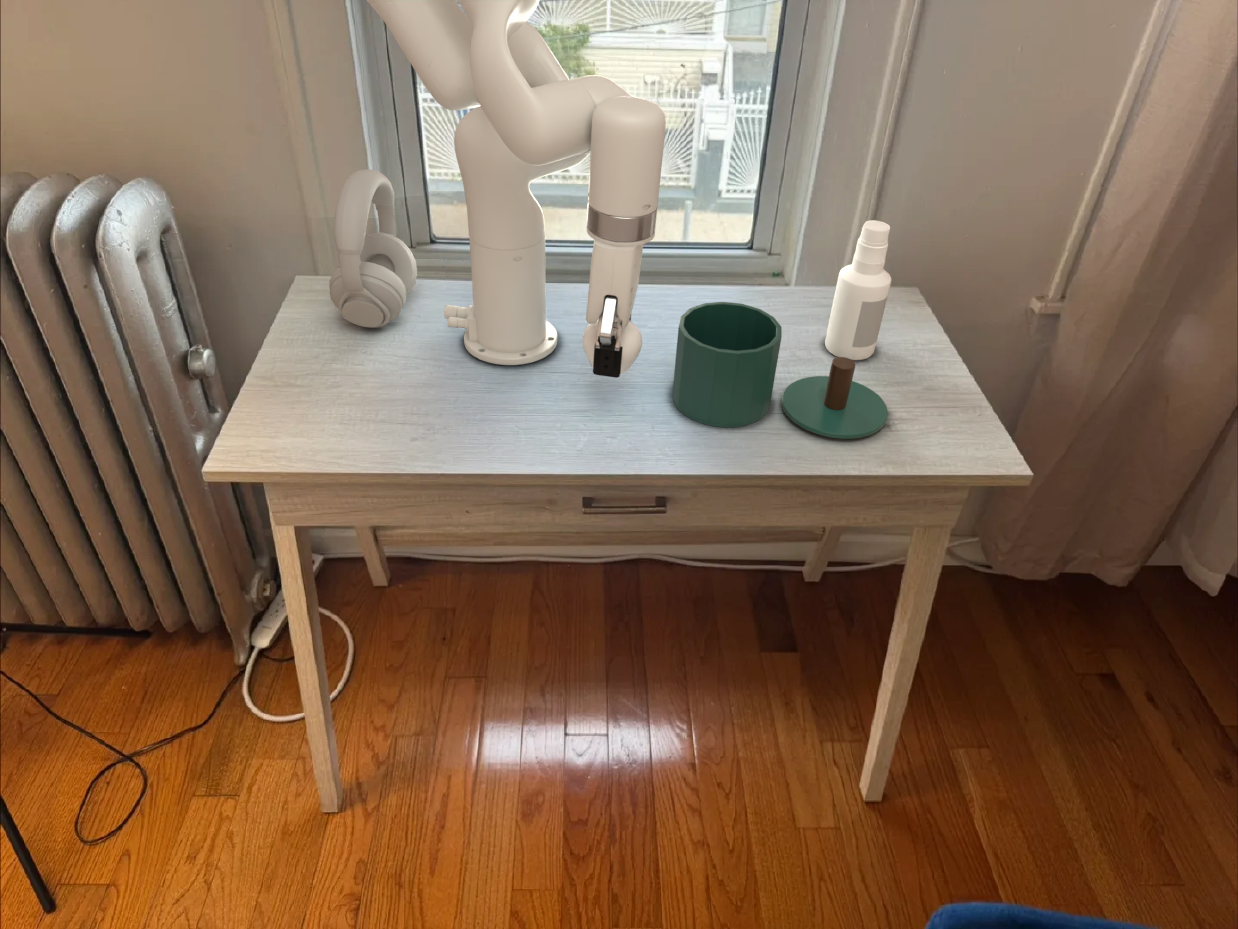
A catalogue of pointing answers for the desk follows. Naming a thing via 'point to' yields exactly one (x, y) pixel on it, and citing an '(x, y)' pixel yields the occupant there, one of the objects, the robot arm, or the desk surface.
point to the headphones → (369, 254)
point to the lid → (835, 404)
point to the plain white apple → (629, 342)
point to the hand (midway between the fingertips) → (611, 356)
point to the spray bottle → (860, 296)
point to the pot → (725, 363)
